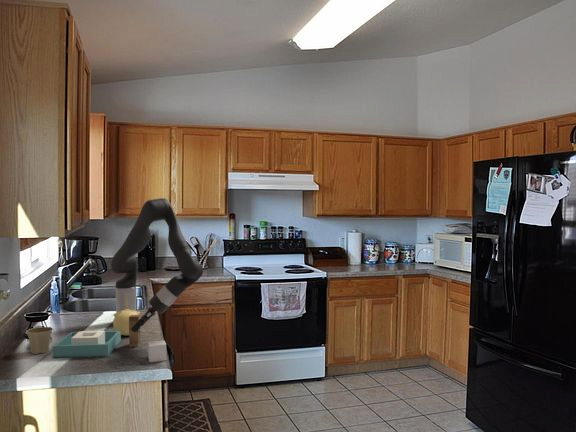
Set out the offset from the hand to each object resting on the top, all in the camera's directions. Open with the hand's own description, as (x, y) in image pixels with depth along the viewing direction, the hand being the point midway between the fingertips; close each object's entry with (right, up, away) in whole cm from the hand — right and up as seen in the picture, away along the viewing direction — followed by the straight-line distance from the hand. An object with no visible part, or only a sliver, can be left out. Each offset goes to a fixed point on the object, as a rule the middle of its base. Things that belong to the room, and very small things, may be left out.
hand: (135, 327), depth 206 cm
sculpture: (-9, -7, +17) cm, 21 cm away
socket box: (-17, -7, -5) cm, 19 cm away
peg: (0, -7, 0) cm, 7 cm away
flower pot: (-35, -8, -8) cm, 36 cm away
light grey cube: (+13, -8, -18) cm, 24 cm away
